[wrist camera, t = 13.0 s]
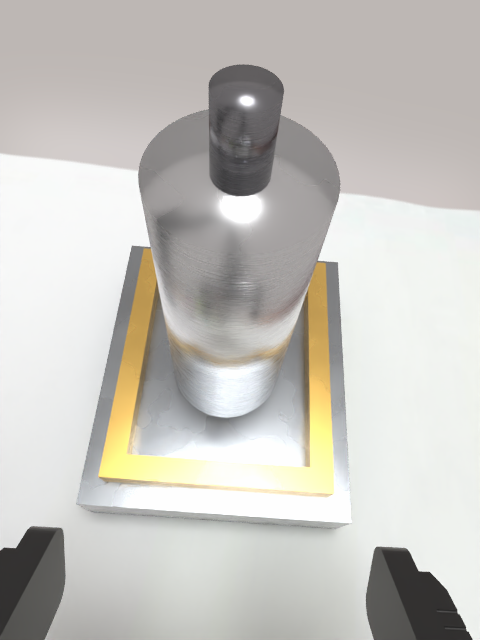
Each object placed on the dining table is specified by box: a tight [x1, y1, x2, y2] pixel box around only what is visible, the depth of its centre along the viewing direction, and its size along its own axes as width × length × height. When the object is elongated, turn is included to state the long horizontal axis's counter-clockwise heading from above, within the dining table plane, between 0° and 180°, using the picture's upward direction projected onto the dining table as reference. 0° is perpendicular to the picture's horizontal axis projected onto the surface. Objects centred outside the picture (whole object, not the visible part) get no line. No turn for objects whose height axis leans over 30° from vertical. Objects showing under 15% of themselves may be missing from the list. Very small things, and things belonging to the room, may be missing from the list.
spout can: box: [138, 65, 340, 417], centre depth 17 cm, size 5×5×15 cm
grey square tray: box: [76, 246, 351, 529], centre depth 24 cm, size 12×14×4 cm
